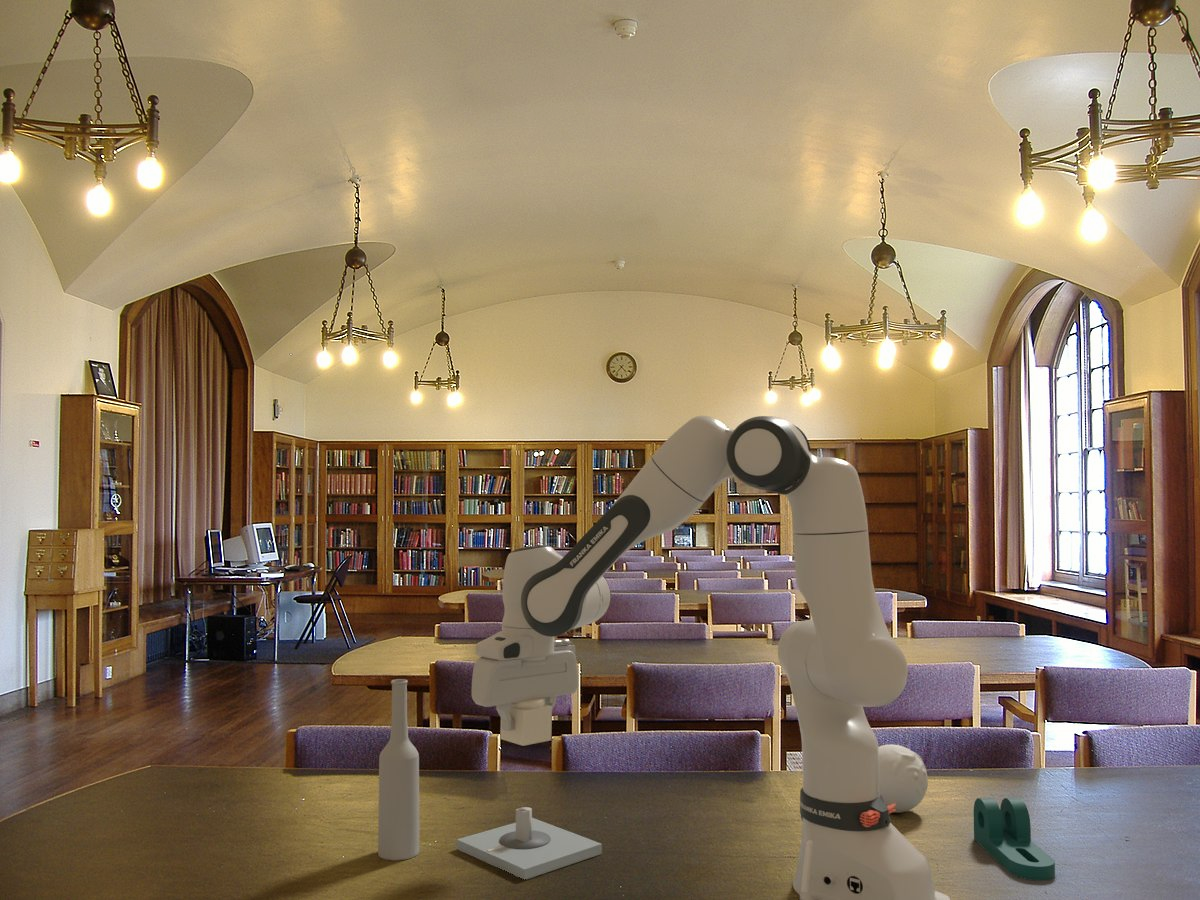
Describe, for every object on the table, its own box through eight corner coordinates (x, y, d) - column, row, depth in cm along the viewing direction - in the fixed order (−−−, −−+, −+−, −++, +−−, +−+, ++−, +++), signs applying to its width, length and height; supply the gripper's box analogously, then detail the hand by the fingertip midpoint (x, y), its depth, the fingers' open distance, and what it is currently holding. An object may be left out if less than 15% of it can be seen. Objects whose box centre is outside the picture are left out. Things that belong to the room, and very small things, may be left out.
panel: (601, 853, 161) (601, 812, 162) (524, 880, 151) (524, 835, 151) (532, 826, 175) (532, 788, 175) (456, 849, 164) (457, 808, 164)
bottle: (370, 853, 162) (371, 680, 163) (404, 843, 167) (405, 675, 168) (392, 864, 157) (393, 686, 159) (427, 853, 162) (427, 680, 163)
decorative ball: (903, 826, 174) (902, 757, 175) (847, 809, 183) (846, 744, 184) (941, 812, 182) (940, 746, 182) (885, 797, 191) (884, 734, 192)
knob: (551, 740, 164) (552, 696, 165) (522, 745, 160) (523, 701, 160) (528, 733, 169) (529, 691, 169) (500, 738, 165) (501, 695, 165)
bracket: (974, 840, 168) (973, 793, 168) (1014, 840, 168) (1013, 792, 168) (1018, 881, 150) (1016, 828, 150) (1062, 881, 150) (1061, 828, 150)
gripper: (563, 635, 174) (561, 715, 174) (467, 645, 161) (465, 732, 160) (587, 639, 170) (585, 721, 169) (490, 650, 156) (488, 739, 155)
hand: (526, 726), depth 164 cm, fingers closed on knob, 6 cm apart
